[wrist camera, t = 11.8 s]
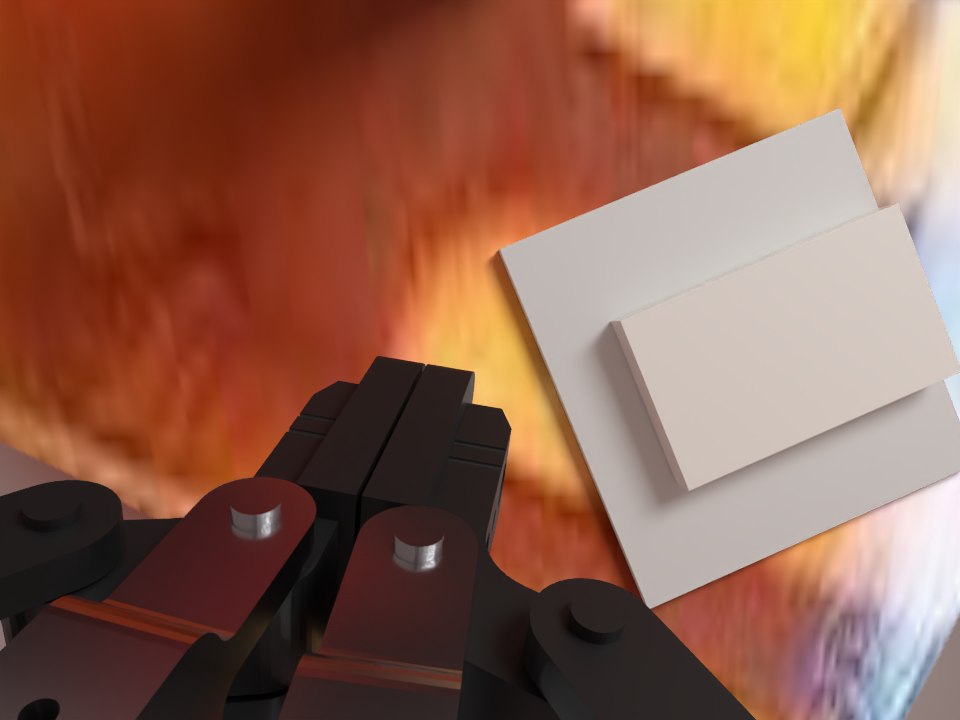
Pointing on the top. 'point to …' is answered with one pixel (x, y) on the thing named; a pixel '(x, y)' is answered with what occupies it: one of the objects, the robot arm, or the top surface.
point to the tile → (787, 346)
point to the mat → (671, 269)
